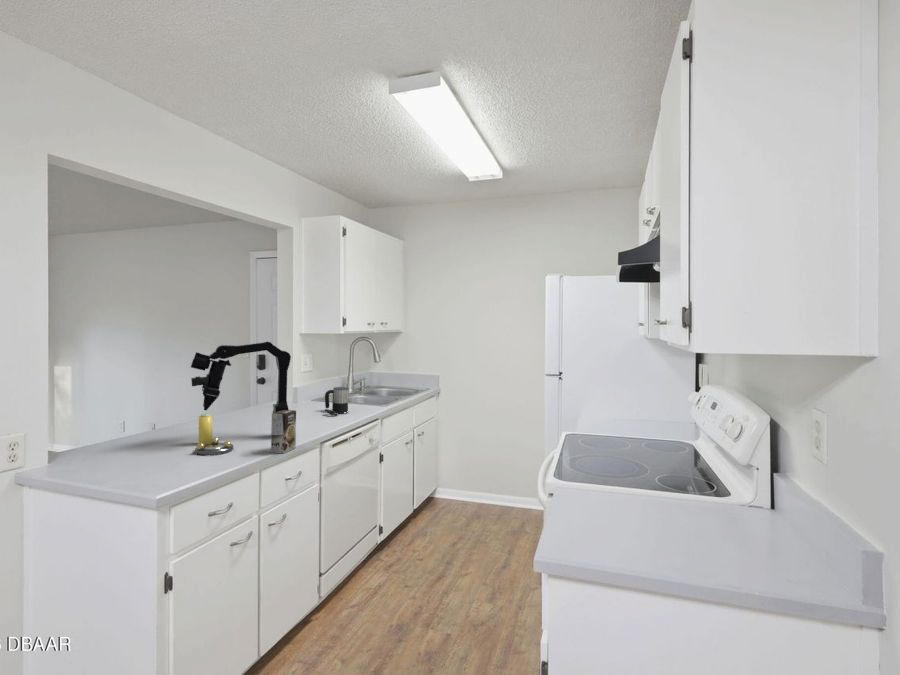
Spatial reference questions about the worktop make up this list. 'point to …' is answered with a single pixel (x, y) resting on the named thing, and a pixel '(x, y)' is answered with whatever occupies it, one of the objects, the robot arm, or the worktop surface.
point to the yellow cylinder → (205, 429)
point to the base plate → (214, 447)
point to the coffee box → (283, 431)
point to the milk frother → (337, 400)
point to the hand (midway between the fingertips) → (204, 408)
